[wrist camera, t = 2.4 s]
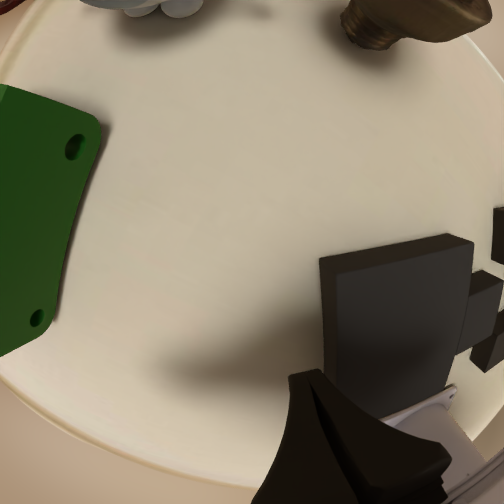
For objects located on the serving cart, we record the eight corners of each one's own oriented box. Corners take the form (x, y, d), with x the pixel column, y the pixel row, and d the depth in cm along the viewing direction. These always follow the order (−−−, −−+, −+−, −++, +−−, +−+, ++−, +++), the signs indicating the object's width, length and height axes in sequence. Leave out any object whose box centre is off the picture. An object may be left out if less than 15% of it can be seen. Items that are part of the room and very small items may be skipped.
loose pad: (464, 354, 15) (480, 368, 13) (323, 409, 14) (332, 434, 12) (485, 225, 12) (510, 232, 10) (318, 258, 12) (335, 274, 10)
